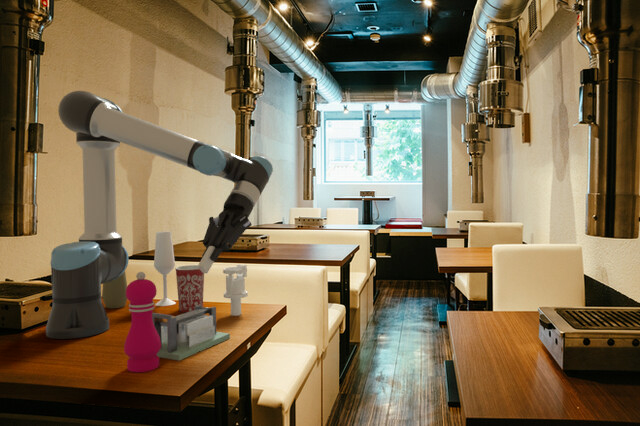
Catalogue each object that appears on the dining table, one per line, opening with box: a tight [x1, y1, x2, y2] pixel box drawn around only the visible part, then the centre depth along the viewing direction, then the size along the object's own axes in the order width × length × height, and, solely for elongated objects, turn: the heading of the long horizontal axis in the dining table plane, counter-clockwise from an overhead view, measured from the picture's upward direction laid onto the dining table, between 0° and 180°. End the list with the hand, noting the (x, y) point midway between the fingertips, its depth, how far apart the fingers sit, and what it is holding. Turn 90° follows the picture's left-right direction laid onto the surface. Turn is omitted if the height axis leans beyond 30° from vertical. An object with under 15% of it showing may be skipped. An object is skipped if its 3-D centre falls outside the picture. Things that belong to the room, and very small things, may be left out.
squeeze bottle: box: [101, 270, 128, 309], centre depth 159 cm, size 8×8×18 cm
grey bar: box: [159, 306, 210, 327], centre depth 116 cm, size 15×3×2 cm, turn 154°
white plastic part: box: [222, 264, 248, 317], centre depth 146 cm, size 7×7×15 cm
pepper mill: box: [123, 271, 161, 373], centre depth 101 cm, size 7×7×20 cm
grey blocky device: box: [152, 305, 217, 353], centre depth 115 cm, size 16×9×8 cm, turn 154°
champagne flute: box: [153, 230, 177, 307], centre depth 162 cm, size 7×7×24 cm
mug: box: [174, 264, 205, 313], centre depth 155 cm, size 13×9×14 cm
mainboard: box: [156, 331, 231, 361], centre depth 116 cm, size 18×11×1 cm, turn 154°
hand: (202, 269), depth 120 cm, fingers closed
